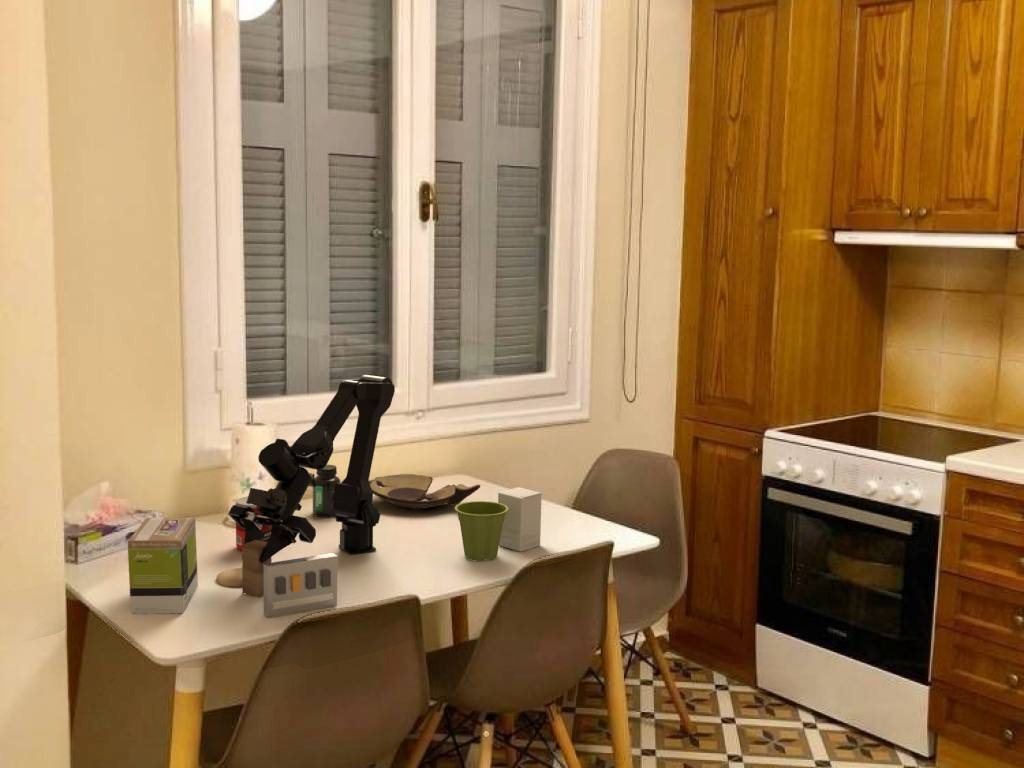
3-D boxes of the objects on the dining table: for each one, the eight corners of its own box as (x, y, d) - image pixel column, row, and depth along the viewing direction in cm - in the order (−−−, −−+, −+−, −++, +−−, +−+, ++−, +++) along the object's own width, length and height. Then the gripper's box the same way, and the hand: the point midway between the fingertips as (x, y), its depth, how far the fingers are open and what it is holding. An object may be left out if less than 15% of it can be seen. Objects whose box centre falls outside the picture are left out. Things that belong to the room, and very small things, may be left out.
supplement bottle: (319, 519, 274) (319, 471, 272) (308, 512, 280) (308, 465, 278) (345, 515, 278) (345, 468, 276) (333, 508, 283) (333, 462, 281)
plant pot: (506, 548, 256) (508, 501, 254) (507, 566, 244) (509, 515, 242) (454, 547, 255) (455, 499, 253) (452, 564, 244) (454, 514, 242)
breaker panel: (332, 602, 219) (333, 553, 217) (338, 607, 217) (339, 557, 215) (263, 614, 212) (263, 563, 210) (269, 619, 209) (268, 568, 208)
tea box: (147, 587, 224) (146, 515, 222) (199, 587, 225) (198, 515, 223) (128, 615, 210) (126, 538, 207) (183, 614, 211) (182, 538, 208)
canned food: (263, 555, 246) (263, 506, 244) (229, 551, 247) (229, 503, 246) (277, 544, 253) (277, 497, 252) (244, 541, 255) (244, 494, 253)
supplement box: (541, 545, 259) (543, 492, 256) (519, 552, 253) (521, 498, 251) (517, 538, 264) (519, 486, 261) (495, 545, 258) (497, 491, 256)
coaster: (257, 567, 238) (256, 565, 237) (273, 582, 229) (273, 579, 229) (210, 575, 232) (210, 572, 232) (225, 590, 224) (225, 587, 224)
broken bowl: (414, 487, 306) (415, 460, 305) (492, 511, 286) (493, 482, 285) (349, 501, 290) (349, 473, 289) (426, 527, 270) (426, 497, 269)
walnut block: (256, 587, 226) (255, 539, 224) (271, 591, 224) (271, 543, 222) (242, 593, 222) (242, 544, 221) (258, 597, 221) (257, 548, 219)
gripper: (233, 465, 227) (195, 531, 219) (306, 478, 218) (269, 547, 211) (260, 494, 235) (223, 559, 227) (331, 508, 226) (296, 576, 219)
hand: (252, 559), depth 221 cm, fingers closed on walnut block, 4 cm apart
